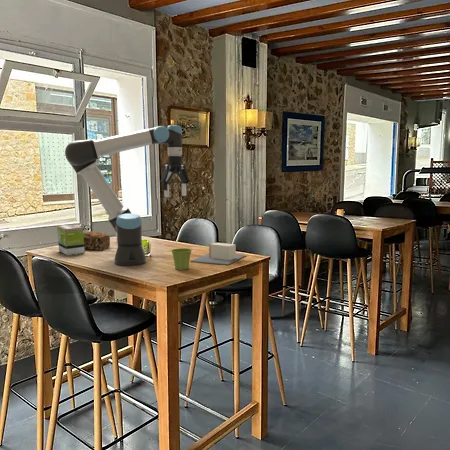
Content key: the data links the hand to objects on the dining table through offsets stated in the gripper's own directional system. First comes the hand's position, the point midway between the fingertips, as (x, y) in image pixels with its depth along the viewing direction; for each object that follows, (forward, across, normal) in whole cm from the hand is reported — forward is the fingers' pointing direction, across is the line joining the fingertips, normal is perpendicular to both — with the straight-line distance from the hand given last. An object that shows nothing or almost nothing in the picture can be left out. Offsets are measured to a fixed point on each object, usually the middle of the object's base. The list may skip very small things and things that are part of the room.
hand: (175, 196), depth 228 cm
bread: (+32, -15, +52) cm, 63 cm away
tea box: (+32, -30, +51) cm, 67 cm away
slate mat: (+31, +2, -27) cm, 41 cm away
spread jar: (+31, +12, +54) cm, 63 cm away
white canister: (+27, +2, -35) cm, 44 cm away
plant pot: (+31, -25, -26) cm, 47 cm away
